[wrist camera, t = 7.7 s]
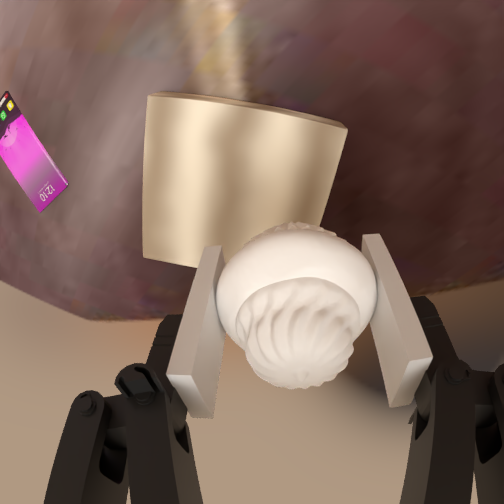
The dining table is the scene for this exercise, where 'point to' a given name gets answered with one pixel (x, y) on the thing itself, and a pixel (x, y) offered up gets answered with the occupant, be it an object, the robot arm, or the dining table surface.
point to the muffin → (296, 303)
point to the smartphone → (28, 156)
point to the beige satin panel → (230, 172)
